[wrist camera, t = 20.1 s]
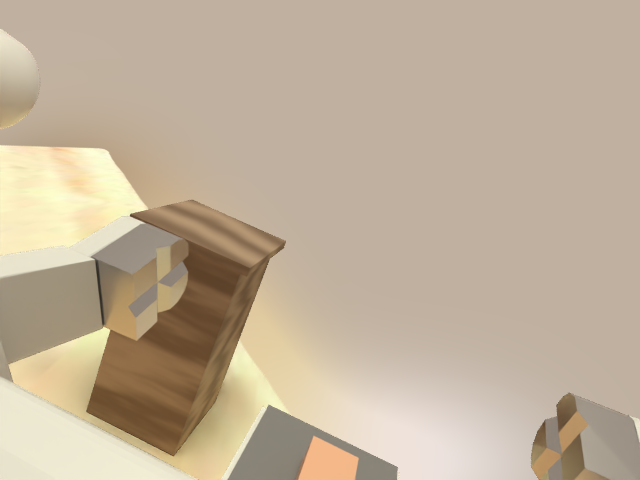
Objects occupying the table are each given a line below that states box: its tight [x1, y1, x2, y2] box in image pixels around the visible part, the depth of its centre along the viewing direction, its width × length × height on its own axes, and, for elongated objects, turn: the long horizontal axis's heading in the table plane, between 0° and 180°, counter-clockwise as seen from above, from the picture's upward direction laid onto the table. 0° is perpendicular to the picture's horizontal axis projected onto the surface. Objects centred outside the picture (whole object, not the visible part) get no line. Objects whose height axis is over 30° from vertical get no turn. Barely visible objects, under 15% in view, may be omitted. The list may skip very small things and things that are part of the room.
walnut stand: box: [86, 200, 286, 456], centre depth 57 cm, size 14×14×26 cm
